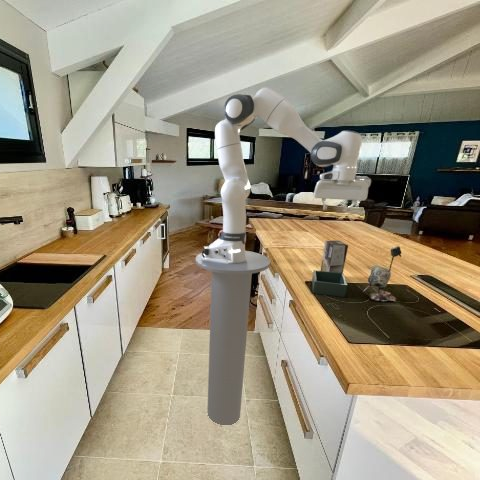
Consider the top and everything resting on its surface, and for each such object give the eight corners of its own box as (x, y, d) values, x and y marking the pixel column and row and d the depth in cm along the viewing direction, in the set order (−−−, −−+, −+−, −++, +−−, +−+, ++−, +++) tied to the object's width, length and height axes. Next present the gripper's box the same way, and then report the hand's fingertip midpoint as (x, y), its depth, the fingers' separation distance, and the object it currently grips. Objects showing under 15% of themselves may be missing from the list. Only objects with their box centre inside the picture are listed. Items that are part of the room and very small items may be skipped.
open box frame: (312, 293, 123) (314, 281, 121) (311, 281, 135) (313, 270, 134) (344, 297, 119) (347, 285, 117) (340, 284, 132) (343, 273, 130)
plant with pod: (362, 291, 124) (374, 242, 117) (396, 297, 119) (409, 246, 112) (361, 298, 118) (373, 247, 110) (396, 305, 113) (411, 251, 105)
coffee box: (341, 281, 135) (349, 245, 129) (327, 281, 135) (333, 245, 129) (333, 274, 143) (339, 240, 137) (319, 274, 143) (324, 240, 137)
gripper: (370, 176, 126) (362, 211, 131) (316, 174, 132) (311, 207, 137) (373, 176, 120) (365, 213, 125) (317, 174, 126) (311, 209, 131)
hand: (336, 210), depth 131 cm, fingers open, 8 cm apart
